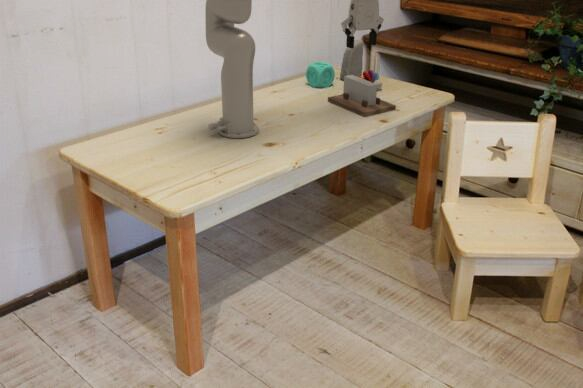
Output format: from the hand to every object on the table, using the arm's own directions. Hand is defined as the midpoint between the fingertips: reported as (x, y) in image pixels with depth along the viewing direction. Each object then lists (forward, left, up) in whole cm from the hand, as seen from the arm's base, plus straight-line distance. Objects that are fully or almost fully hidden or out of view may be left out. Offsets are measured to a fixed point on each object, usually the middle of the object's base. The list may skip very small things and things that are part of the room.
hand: (361, 46), depth 212 cm
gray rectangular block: (+1, +1, -19) cm, 19 cm away
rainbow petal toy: (+16, +13, -21) cm, 30 cm away
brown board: (+1, -1, -21) cm, 21 cm away
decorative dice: (+4, +27, -21) cm, 34 cm away
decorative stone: (+20, +28, -21) cm, 40 cm away
